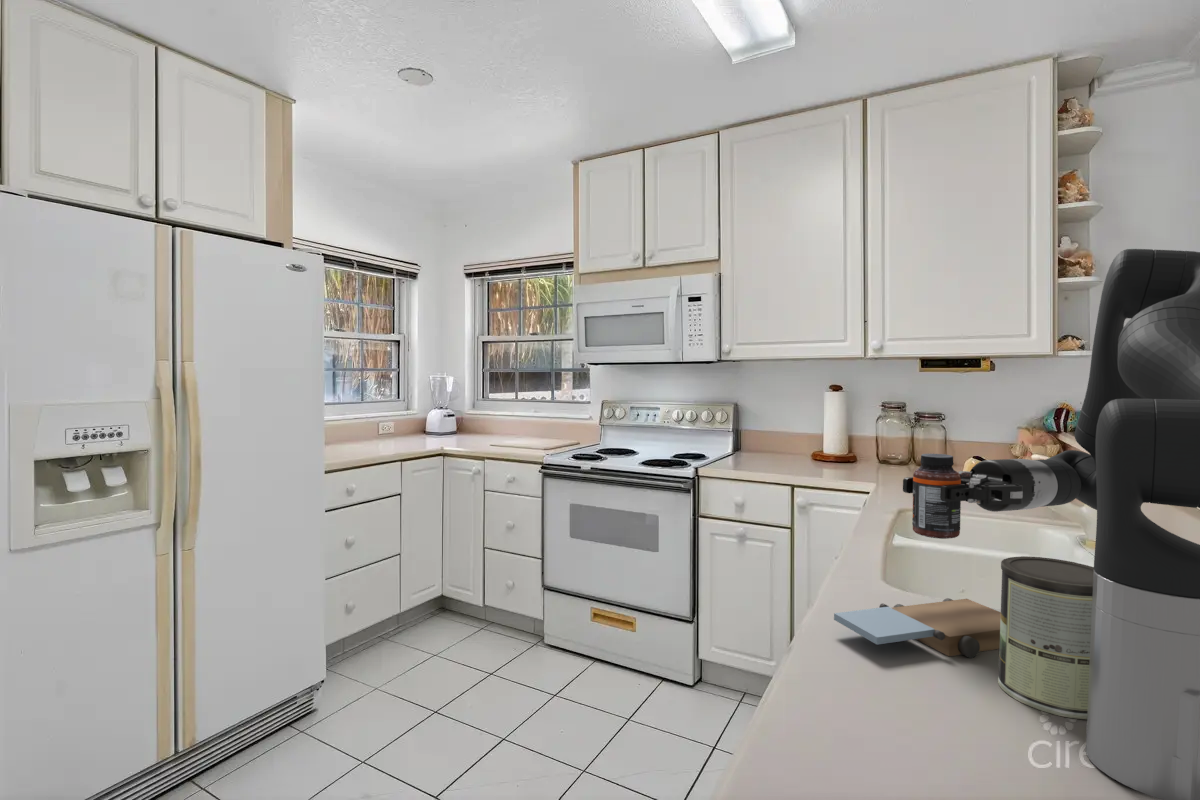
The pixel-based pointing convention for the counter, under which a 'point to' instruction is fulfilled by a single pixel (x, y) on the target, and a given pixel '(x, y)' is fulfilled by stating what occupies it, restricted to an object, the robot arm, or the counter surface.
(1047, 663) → the coffee can
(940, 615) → the flatbed
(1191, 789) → the robot arm
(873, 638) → the panel
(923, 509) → the supplement bottle
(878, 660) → the counter surface
